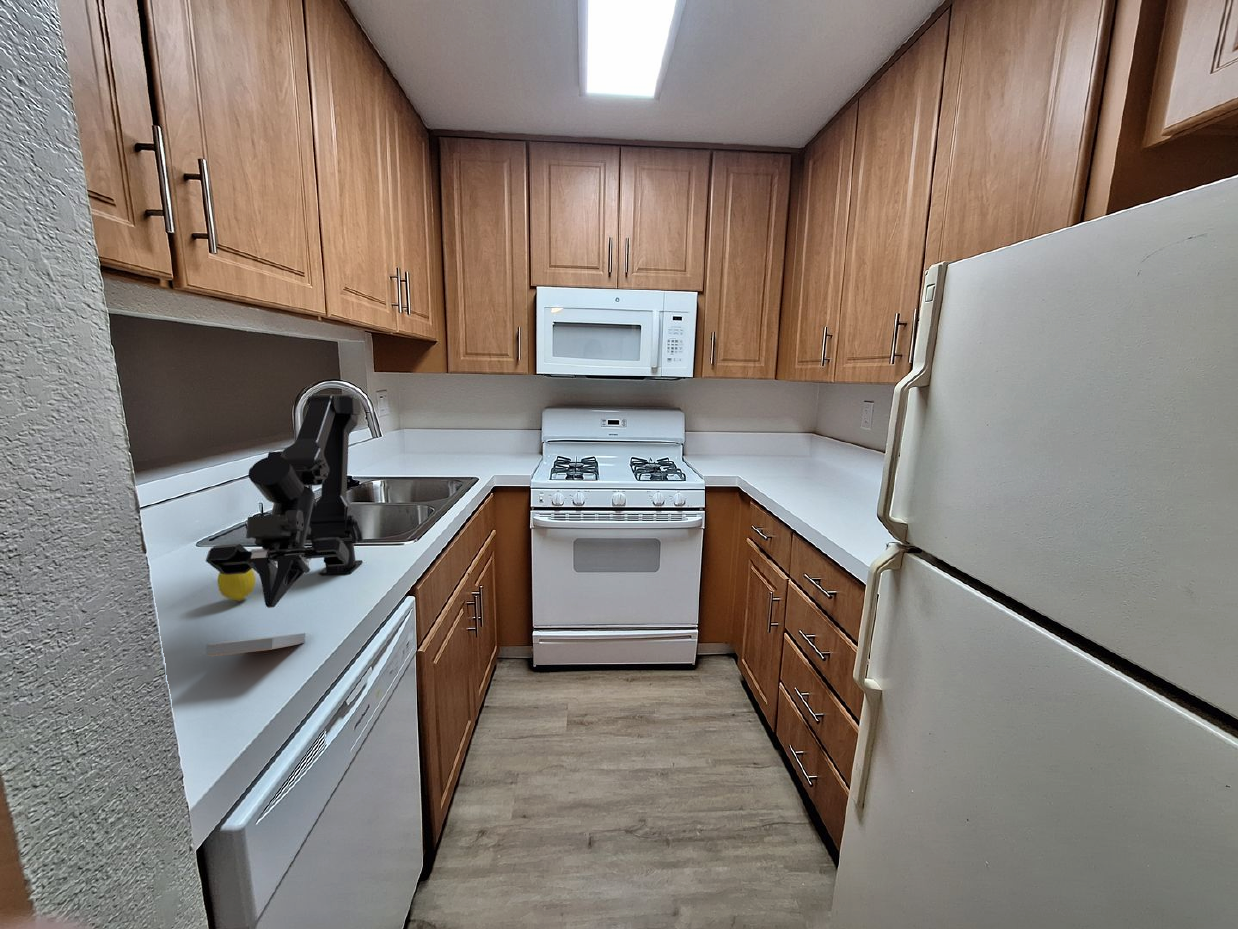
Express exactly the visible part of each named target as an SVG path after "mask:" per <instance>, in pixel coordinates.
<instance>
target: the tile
mask: <svg viewBox="0 0 1238 929" xmlns="http://www.w3.org/2000/svg"><path fill="white" fill-rule="evenodd" d="M303 643H306V633H305V632H302V633H295V634H294V633H293V634H285V635H275V636H267V637H266V636H265V637H257V638H255V637H254V638H247V639H241V640H239V639H238V640H232V641H224V642H219V643H217V642H216V643H212V644H206V645H205V646H206V647H205V655H204V656H205V657H208V656H209V657H216V656H217V657H218V656H225V655H233V654H235V655H236V654H244V653H254V652H261V651H262V652H263V651H264V652H265V651H269V650H275V649H281V648H282V649H283V648H285V647H292V646H296V645H298V646H299V645H301V644H303Z"/></svg>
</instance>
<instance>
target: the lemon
mask: <svg viewBox="0 0 1238 929" xmlns="http://www.w3.org/2000/svg"><path fill="white" fill-rule="evenodd" d="M255 586H256V575H255V571H254V569H253V568H252V569H251V570H249V571H248V572H247V573H244V574H232V575H226V574H222V573H220V572H219V573H218V576H217V587H218V590H219V592H220V594H221V595H222V596H223V597H225V598H227V599H230V600H235V601H237V602H241V601H243V600H244V599H245V598H246V597H247V596H249V595H250V594H251V593H252V591H253V590H254V589H255Z"/></svg>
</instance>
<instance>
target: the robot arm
mask: <svg viewBox="0 0 1238 929" xmlns="http://www.w3.org/2000/svg"><path fill="white" fill-rule="evenodd" d="M306 404H307V408H306V411H305V415H304V417H303V420H302V423H301V425H300V428H299V431H298V434H297V436H296V439H295V441H294V443H292V444H291V445H289V446H287V447H286V448H284V449H283V451H281V450H280V451H269V452H268V454H267V457H263V458H262V459H260V460H258V461H256V462H255V463H254V464H253V465H252V467H250V468H249V470H248V479H249V480H250V482H251V483H252V484H253V486H255V487H256V489H257V490H258V491H259V493H261V494H262V496H263V497H264V498H265V499H266V501H268V502H270V503H273V506H272V510H271V514H267V515H256V516H248V517H247V520H246V522H247V523H246V534H245V535H246V536H245V538H246V539H254V540H255V541H254V544H255V545H256V546H257V547H261V548H254V549H253V548H252V549H251V550H250V551H249V550H247V549H246V547H244V546H243V545H242V544H241V543H232V544H217V545H214V546H212V547H211V548H210V549H209V550H208V552H207V555H206V558H205V562H206V563H208V565H210V566H212V568H214V569H215V570H216V571H218V572H219V573H222V574H226V575H232V574H244V573H247V572H248V571H249V570H251V569H252V570H253V571H254V572H256V573H257V574H258V575H259V578H260V582H261V586H262V593H263V598H264V599H263V600H264V603H265V604H264V605H265V607H266V608H268V609H273V608H276V605H277V604H278V603H279V602H280V600H282V598H283V597H284V595H286V593H287V592H288V590H289V589H290V588H291V587H292V586H293V585H294V583H296V581H298V580H299V579H300V578H301V577H302V576H303V575H304V574H307V573H310V571H311V568H310V567H309V566H310V565H309V564H310V561H312V559H322V558H323V563H324V565H325V566H324V568H322V569H321V570H320V571H319V572H318V575H321V576H322V575H323V576H324V575H344V574H345V575H348V574H352V572H354V571H355V570H356V569H357V568H358V567H359V566H360V565H361V564H363V560H362V559H361V560H360V559H359V560H357V559H356V551H355V544H358V542H361V541H363V540H364V536H363V535H364V534H363V533H364V532H363V526H362V525H361V524H360V522H359V520H358V518H357V517H356V516H355V509H354V507H353V506H352V504H351V503H350V502H349V500H348V499H347V495H348V494H347V492H348V491H347V490H348V466H349V464H348V463H349V441H350V440H349V439H350V438H349V437H350V434H351V433H352V431H354V429H355V428H356V427H357V425H358V422H359V415H361V403H360V400H359V399H358V398H355V397H354V395H353V394H349V393H348V394H331V393H329V394H312V395H309V396H308V397H307V403H306ZM320 485H321V493H320V494H321V495H320V497H319V498H318V500H316V495H315V493H314V491H313V490H312V489H311V488H310V487H311V486H312V487H313V486H320ZM308 535H309V539H310V542H311V546H306V540H307V537H308Z"/></svg>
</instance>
